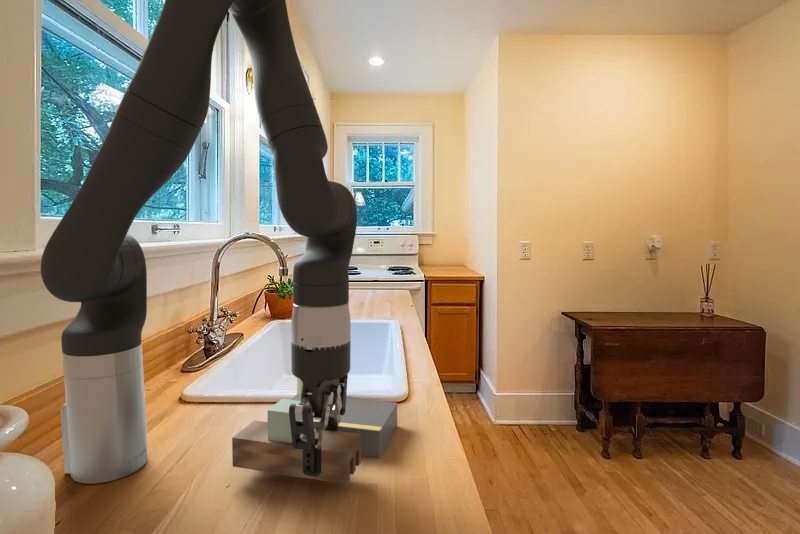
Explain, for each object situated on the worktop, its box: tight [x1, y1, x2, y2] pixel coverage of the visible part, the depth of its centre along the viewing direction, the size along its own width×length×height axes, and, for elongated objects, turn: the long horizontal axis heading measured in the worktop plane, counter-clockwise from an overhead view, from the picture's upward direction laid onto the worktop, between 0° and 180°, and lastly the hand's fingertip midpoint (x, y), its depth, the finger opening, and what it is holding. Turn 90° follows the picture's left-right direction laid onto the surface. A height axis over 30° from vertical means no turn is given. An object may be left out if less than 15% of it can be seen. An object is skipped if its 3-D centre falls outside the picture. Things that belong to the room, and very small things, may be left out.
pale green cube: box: [267, 398, 300, 443], centre depth 63 cm, size 4×4×4 cm
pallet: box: [231, 419, 362, 485], centre depth 63 cm, size 16×6×4 cm, turn 77°
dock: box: [266, 393, 398, 458], centre depth 77 cm, size 18×11×4 cm, turn 77°
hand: (321, 461), depth 63 cm, fingers closed on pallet, 5 cm apart
